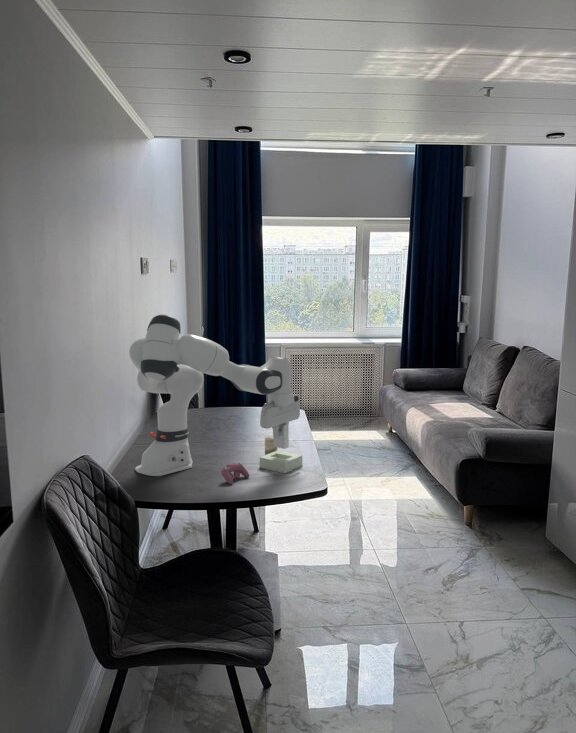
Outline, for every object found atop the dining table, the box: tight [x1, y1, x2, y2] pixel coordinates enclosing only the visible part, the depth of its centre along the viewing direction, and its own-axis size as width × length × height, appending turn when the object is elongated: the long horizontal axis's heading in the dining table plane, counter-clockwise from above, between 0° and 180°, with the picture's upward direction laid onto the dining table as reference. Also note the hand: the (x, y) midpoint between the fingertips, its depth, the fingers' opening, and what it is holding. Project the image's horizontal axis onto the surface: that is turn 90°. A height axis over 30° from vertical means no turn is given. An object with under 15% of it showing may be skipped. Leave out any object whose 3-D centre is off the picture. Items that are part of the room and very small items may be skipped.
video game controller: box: [220, 462, 250, 485], centre depth 211 cm, size 10×5×7 cm, turn 141°
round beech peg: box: [264, 436, 278, 455], centre depth 236 cm, size 5×5×8 cm
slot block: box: [259, 449, 303, 474], centre depth 225 cm, size 11×12×4 cm
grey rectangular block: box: [272, 424, 290, 450], centre depth 223 cm, size 2×6×9 cm, turn 53°
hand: (280, 435), depth 223 cm, fingers closed on grey rectangular block, 2 cm apart
